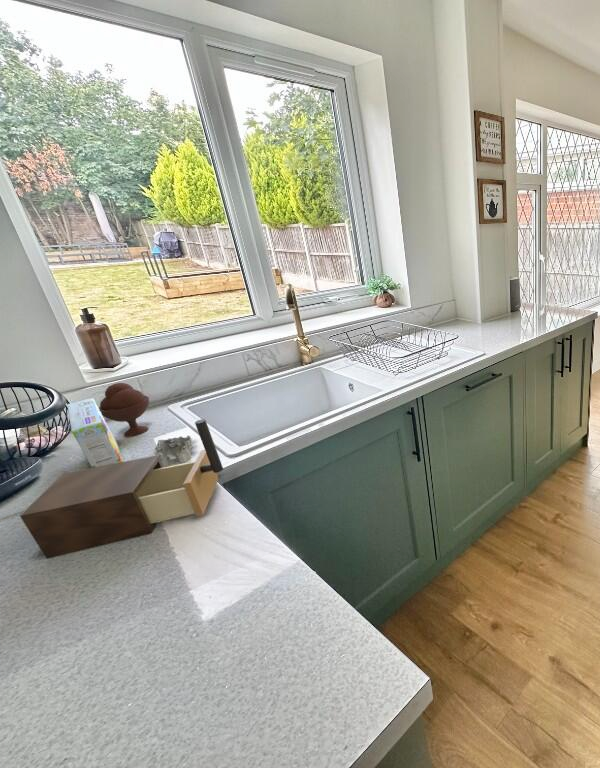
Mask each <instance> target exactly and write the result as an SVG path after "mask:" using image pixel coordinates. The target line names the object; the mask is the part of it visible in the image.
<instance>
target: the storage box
mask: <svg viewBox="0 0 600 768" xmlns="http://www.w3.org/2000/svg"><path fill="white" fill-rule="evenodd" d="M159 468H164V467H163V465H162V462H161V460H160V457H159V455H156V456H152V455H151V456H146V457H141V458H136V459H131V460H127V461H123V462H120V463H114V464H109V465H104V466H99V467H94V468H92V467H89V468H88V467H87V468H84V469H79V470H73V471H67V472H63V473H62V474H61V475H60V476H59V477H58V478H57V479H56V480H55V481H54V482H53V483H52V484H51V485H50V486H49V487H48V488H47V489H46V490H45V491H44V492H43V493H42V494H40V496H39V497H38V498H37V499H35V501H33V502H32V503H31V504H30V506H29V507H27V508H26V509H25V510H24V512H22V513H21V514H20V515H19V517H20V519H21V520H22V522H23V524H24V525H25V527H26V528H27V530H28V531H29V533H30V534H31V536H32V538H33V539H34V542H35V543H36V544H37V546H38V547H39V549H40V551H41V553H42V555H44V557H45V559H51V558H52V559H53V558H56V557H59V556H65V555H69V554H72V553H77V552H80V551H85V550H90V549H92V548H96V547H100V546H105V545H109V544H114V543H117V542H121V541H122V542H123V541H126V540H129V539H133V538H134V539H135V538H139V537H142V536H147V535H150V534H153V532H154V530H155V528H156V527H157V525H158V523H159V522H156V523H152V524H151V523H150V521H149V519H148V517H147V515H146V513H145V511H144V509H143V507H142V505H141V502H140V500H139V498H138V496H137V494H136V493H137V491H138V490H139V489H140V487H141V486H142V484H143V483H144V481H145V480H146V478H147V477H148V476H149V474H150V473H151V471H152V470H154V469H159Z"/></svg>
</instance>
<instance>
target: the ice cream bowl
mask: <svg viewBox="0 0 600 768" xmlns="http://www.w3.org/2000/svg"><path fill="white" fill-rule="evenodd" d="M104 396H105V397H104V398H103V399H102V400H101V401H100V403H99V406H98V408H99V410H100V412H101V414H102V416H103V417H104V418H106V419H109V420H111V421H114V422H118V423H119V422H121V423H122V422H123V423H124V422H126V423H127V424H128V426H129V428H128V429H126V430H125V432H124V433H123V436H124V437H127V438H129V437H135V436H140V435H143V434H145V433H146V432H148V430H149V427H147V426H146V425H138V423H137V419H139V418H140V417H141V416H142V415H144V414H145V412H146V410H147V409H148V407H149V405H150V398H149V397H150V396H148V395H145V394H144V393H143V392H142V391H140V390H138V389H135V388H134V387H133V386H132V385H131V384H128V383H125V382H115V383H113V384H111V385H108V386H107V388H106V390H105V392H104Z"/></svg>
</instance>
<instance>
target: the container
mask: <svg viewBox="0 0 600 768" xmlns="http://www.w3.org/2000/svg"><path fill="white" fill-rule="evenodd" d="M194 425H195V427H196V430H197V432H198V435H199V438H200V440H201V443H202V445H203V448H204V449H201V450H200V452H199V454H198V456H197V458H196V460H194V461H189V462H185V463H179V464H173V465H170V466H169V467H164V468H159V469H154V470H152V471H151V473H150V474H149V476H148V477H147V478H146V480H145V481H144V483H143V484H142V486H141V487H140V489H139V490H138V491H137V493H136V494H137V496H138V498H139V500H140V502H141V505H142V507H143V509H144V511H145V513H146V515H147V517H148V519H149V521H150V523H151V524H152V523H156V522H158V523H160V522H165V521H169V520H174V519H177V518H181V517H184V516H185V517H186V516H190V515H194V514H195V516H196V517H199V516H203V515H204V514H205V512H206V509H207V507H208V504H209V502H210V500H211V497H212V495H213V492H214V490H215V488H216V485H217V483H218V481H219V476H218V473H220V472H223V470H224V467H223V464H222V462H221V458H220V456H219V453H218V450H217V448H216V445H215V442H214V439H213V437H212V433H211V432H210V427H209V426H208V423H207V420H206V419H203V418H201V419H198V420H196V421H195V422H194Z"/></svg>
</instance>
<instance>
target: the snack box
mask: <svg viewBox="0 0 600 768" xmlns="http://www.w3.org/2000/svg"><path fill="white" fill-rule="evenodd" d="M67 411H68V419H69V423H70V429H71V430H70V431H71V433H72V435H73V436H74V438H75V440H76V442H77V444H78V445H79V447H80V449H81V451H82V453H83V454H84V457H85V458H86V460H87V461H88V463H89V466H90V468H94V467H99V466H104V465H109V464H114V463H120V462H124V459H123V456H122V454H121V450H120V448H119V445H118V443H117V441H116V439H115V437H114V435H113V432H112V431H111V429H110V427H109V425H108V423H107V422H106V420H105V417H104V416H103V415H102V414H101V412H100V410H99V406H98V404H97V402H96V400H95V398H94V397H91V398H87V399H83V400H79V401H75V402H71V403H68V404H67Z"/></svg>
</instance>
